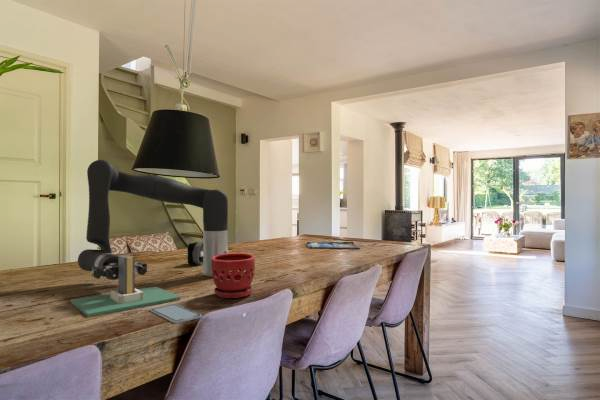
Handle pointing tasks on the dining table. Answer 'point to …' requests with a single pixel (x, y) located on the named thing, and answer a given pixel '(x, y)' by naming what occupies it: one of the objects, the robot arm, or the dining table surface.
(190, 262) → the cpu cooler
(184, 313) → the smartphone
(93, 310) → the board
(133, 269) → the keyed plug
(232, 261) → the plant pot
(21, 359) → the dining table surface
